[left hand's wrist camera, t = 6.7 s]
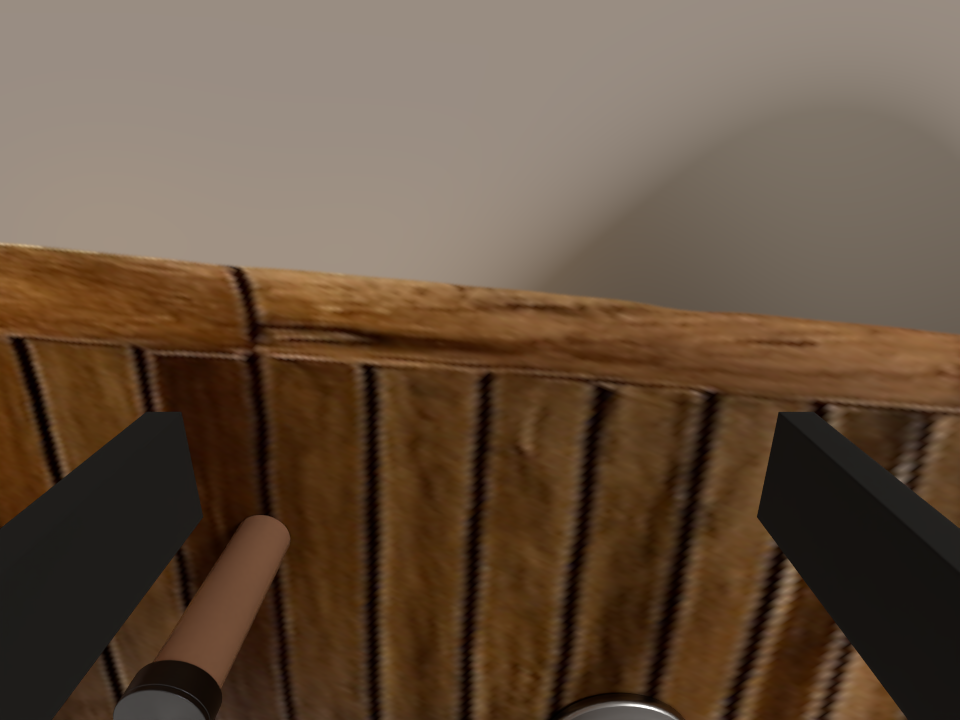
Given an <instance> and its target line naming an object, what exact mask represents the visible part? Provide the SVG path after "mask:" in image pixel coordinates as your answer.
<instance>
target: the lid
mask: <svg viewBox="0 0 960 720" xmlns="http://www.w3.org/2000/svg"><path fill="white" fill-rule="evenodd" d="M221 703H222V692H221V689H220V687H219V685H218V683H217V682H216V680H215V679H214V678H213V677H212V676H211V675H210V674H209V673H207V672H206V671H205V670H203V669H201V668H200V667H198V666H195V665H193V664H190V663H187V662H183V661H177V660H162V661H157V662H153V663H150V664H148V665H146V666H145V667H143V668H142V669H141V670H140V671H139V672H138V673H137V674H136V676H135V677H134V679H133V680H132V682H131V683H130V685H129V686H128V688H127V689H126V691H125V693H124V694H123V696H122V697H121V699H120V700H119V702H118V703H117V705H116V707H115V709H114V713H113V720H214V719H215V717H216V715H217V713H218V711H219V708H220V706H221Z"/></svg>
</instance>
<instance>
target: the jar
mask: <svg viewBox="0 0 960 720" xmlns="http://www.w3.org/2000/svg"><path fill="white" fill-rule="evenodd" d="M289 545H290V535H289V532H288V530H287V528H286V527H285V526H284V525H283V524H282V523H281V522H280V521H278V520H277V519H275V518H273V517H270V516H265V515H255V516H251V517H249V518H247V519H245V520H244V521H242V522H241V524H240V525H239V527H238V528H237V530H236V531H235V533H234V535H233V536H232V538H231V539H230V541H229V542H228V544H227V546H226V547H225V549H224V550H223V552H222V553H221V555H220V557H219V558H218V560H217V561H216V563H215V565H214V566H213V568H212V569H211V571H210V572H209V574H208V576H207V577H206V579H205V580H204V582H203V583H202V585H201V587H200V588H199V590H198V591H197V593H196V595H195V596H194V598H193V599H192V601H191V602H190V604H189V606H188V607H187V609H186V610H185V612H184V613H183V615H182V617H181V618H180V620H179V621H178V623H177V624H176V626H175V628H174V629H173V631H172V632H171V634H170V636H169V637H168V639H167V640H166V642H165V643H164V645H163V647H162V648H161V650H160V651H159V653H158V654H157V656H156V658H155V659H154V661H153V662H157V661H162V660H177V661H183V662H187V663H190V664H193V665H195V666H198V667H200V668H201V669H203V670H205V671H206V672H207V673H209V674H210V675H211V676H212V677H213V678H214V679H215V680H216V682H217V683H218V685H219V687H220V689H221V688H222V686H223V684H224V682H225V680H226V677H227V675H228V673H229V671H230V669H231V667H232V665H233V663H234V661H235V659H236V656H237V654H238V652H239V650H240V648H241V646H242V644H243V642H244V640H245V638H246V635H247V633H248V631H249V629H250V627H251V625H252V623H253V621H254V619H255V617H256V614H257V612H258V610H259V608H260V606H261V604H262V602H263V600H264V598H265V596H266V594H267V591H268V589H269V587H270V585H271V583H272V581H273V579H274V577H275V575H276V573H277V570H278V568H279V566H280V564H281V562H282V560H283V558H284V556H285V554H286V552H287V549H288V547H289ZM153 662H152V663H153Z"/></svg>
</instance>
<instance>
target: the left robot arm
mask: <svg viewBox="0 0 960 720" xmlns="http://www.w3.org/2000/svg"><path fill="white" fill-rule="evenodd" d="M202 518H203V515H202V510H201V505H200V500H199V495H198V491H197V486H196V481H195V476H194V471H193V466H192V462H191V457H190V452H189V447H188V442H187V437H186V433H185V428H184V423H183V418H182V413H181V412H146V413H144V414H143V415H142V416H141V417H139V418H138V419H137V420H136V421H134V422H133V423H132V424H131V425H129V426H128V427H127V428H126V429H124V430H123V431H122V432H121V433H119V434H118V435H117V436H116V437H114V438H113V439H112V440H111V441H109V442H108V443H107V444H106V445H104V446H103V447H102V448H101V449H99V450H98V451H97V452H96V453H94V454H93V455H92V456H91V457H89V458H88V459H87V460H86V461H84V462H83V463H82V464H81V465H79V466H78V467H77V468H76V469H74V470H73V471H72V472H71V473H69V474H68V475H67V476H66V477H64V478H63V479H62V480H61V481H59V482H58V483H57V484H56V485H54V486H53V487H52V488H51V489H49V490H48V491H47V492H46V493H44V494H43V495H42V496H41V497H39V498H38V499H37V500H36V501H34V502H33V503H32V504H31V505H29V506H28V507H27V508H26V509H24V510H23V511H22V512H21V513H19V514H18V515H17V516H16V517H14V518H13V519H12V520H11V521H9V522H8V523H7V524H6V525H4V526H3V527H2V528H0V720H52V719H53V718H54V716H55V715H56V713H57V712H58V711H59V709H60V708H61V707H62V705H63V704H64V703H65V701H66V700H67V699H68V697H69V696H70V695H71V693H72V692H73V691H74V689H75V688H76V687H77V685H78V684H79V683H80V681H81V680H82V679H83V677H84V676H85V675H86V673H87V672H88V671H89V669H90V668H91V667H92V665H93V664H94V663H95V661H96V660H97V659H98V657H99V656H100V654H101V653H102V652H103V650H104V649H105V648H106V646H107V645H108V644H109V642H110V641H111V640H112V638H113V637H114V636H115V634H116V633H117V632H118V630H119V629H120V628H121V626H122V625H123V624H124V622H125V621H126V620H127V618H128V617H129V616H130V614H131V613H132V612H133V610H134V609H135V608H136V606H137V605H138V604H139V602H140V601H141V600H142V598H143V597H144V595H145V594H146V593H147V591H148V590H149V589H150V587H151V586H152V585H153V583H154V582H155V581H156V579H157V578H158V577H159V575H160V574H161V573H162V571H163V570H164V569H165V567H166V566H167V565H168V563H169V562H170V561H171V559H172V558H173V557H174V555H175V554H176V553H177V551H178V550H179V549H180V547H181V546H182V545H183V543H184V542H185V540H186V539H187V538H188V536H189V535H190V534H191V532H192V531H193V530H194V528H195V527H196V526H197V524H198V523H199V522H200V520H201V519H202ZM757 518H758V519H759V520H760V522H761V523H762V524H763V526H764V527H765V528H766V530H767V531H768V532H769V534H770V535H771V536H772V538H773V539H774V540H775V542H776V543H777V545H778V546H779V547H780V549H781V550H782V551H783V553H784V554H785V555H786V557H787V558H788V559H789V561H790V562H791V563H792V565H793V566H794V567H795V569H796V570H797V571H798V573H799V574H800V575H801V577H802V578H803V579H804V581H805V582H806V583H807V585H808V586H809V587H810V589H811V590H812V591H813V593H814V594H815V595H816V597H817V598H818V600H819V601H820V602H821V604H822V605H823V606H824V608H825V609H826V610H827V612H828V613H829V614H830V616H831V617H832V618H833V620H834V621H835V622H836V624H837V625H838V626H839V628H840V629H841V630H842V632H843V633H844V634H845V636H846V637H847V638H848V640H849V641H850V642H851V644H852V645H853V646H854V648H855V649H856V650H857V652H858V653H859V654H860V656H861V657H862V659H863V660H864V661H865V663H866V664H867V665H868V667H869V668H870V669H871V671H872V672H873V673H874V675H875V676H876V677H877V679H878V680H879V681H880V683H881V684H882V685H883V687H884V688H885V689H886V691H887V692H888V693H889V695H890V696H891V697H892V699H893V700H894V701H895V703H896V704H897V705H898V707H899V708H900V709H901V711H902V712H903V713H904V715H905V716H906V718H907V719H908V720H960V528H958V527H957V526H956V525H954V524H953V523H952V522H951V521H949V520H948V519H947V518H946V517H944V516H943V515H942V514H941V513H939V512H938V511H937V510H936V509H934V508H933V507H932V506H931V505H929V504H928V503H927V502H926V501H924V500H923V499H922V498H921V497H919V496H918V495H917V494H916V493H914V492H913V491H912V490H911V489H909V488H908V487H907V486H906V485H904V484H903V483H902V482H901V481H899V480H898V479H897V478H896V477H894V476H893V475H892V474H891V473H889V472H888V471H887V470H886V469H884V468H883V467H882V466H881V465H879V464H878V463H877V462H876V461H874V460H873V459H872V458H871V457H869V456H868V455H867V454H866V453H864V452H863V451H862V450H861V449H859V448H858V447H857V446H856V445H854V444H853V443H852V442H851V441H849V440H848V439H847V438H846V437H844V436H843V435H842V434H841V433H839V432H838V431H837V430H836V429H834V428H833V427H832V426H831V425H829V424H828V423H827V422H826V421H824V420H823V419H822V418H821V417H819V416H818V415H817V414H816V413H814V412H779V413H778V418H777V423H776V428H775V433H774V437H773V442H772V447H771V452H770V457H769V462H768V466H767V471H766V476H765V481H764V486H763V491H762V495H761V500H760V505H759V510H758V515H757ZM552 720H685V719H684V718H683V717H682V716H681V715H680V714H679V713H678V712H677V711H676V710H675V709H673V708H672V707H671V706H669V705H667V704H665V703H663V702H661V701H659V700H657V699H654V698H651V697H647V696H643V695H637V694H627V693H616V694H605V695H600V696H595V697H591V698H588V699H585V700H582V701H580V702H577V703H575V704H573V705H571V706H569V707H567V708H566V709H564V710H563V711H561V712H560V713H559V714H557V715H556V716H555V717H554V718H553V719H552Z"/></svg>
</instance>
